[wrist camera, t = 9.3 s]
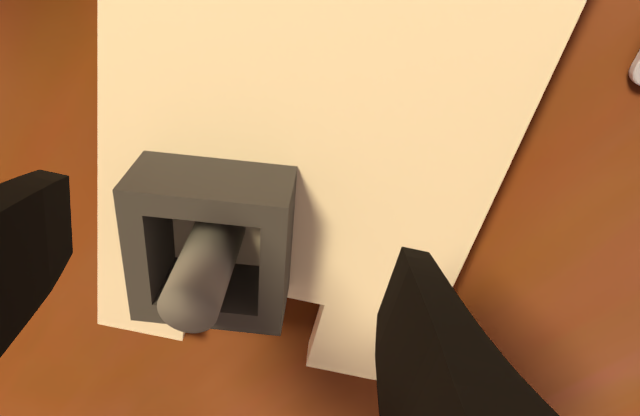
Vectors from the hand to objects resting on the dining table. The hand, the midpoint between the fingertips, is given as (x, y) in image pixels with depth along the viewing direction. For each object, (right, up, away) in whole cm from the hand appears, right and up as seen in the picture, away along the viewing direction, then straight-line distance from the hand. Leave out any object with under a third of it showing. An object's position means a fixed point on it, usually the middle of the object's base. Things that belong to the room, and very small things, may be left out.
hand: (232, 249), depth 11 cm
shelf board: (+1, +5, +9) cm, 10 cm away
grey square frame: (-2, 0, +10) cm, 10 cm away
